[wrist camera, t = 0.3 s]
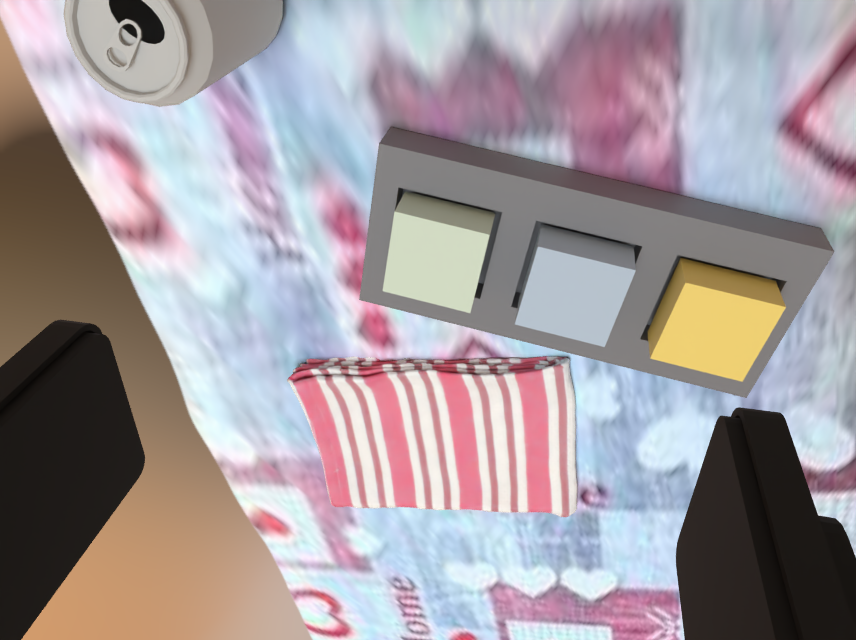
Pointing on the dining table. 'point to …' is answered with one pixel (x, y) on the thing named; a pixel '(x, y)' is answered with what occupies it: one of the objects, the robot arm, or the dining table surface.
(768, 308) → the mustard button
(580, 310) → the blue button
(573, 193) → the button board
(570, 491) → the dish towel
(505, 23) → the dining table surface
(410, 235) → the sage button
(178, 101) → the can
